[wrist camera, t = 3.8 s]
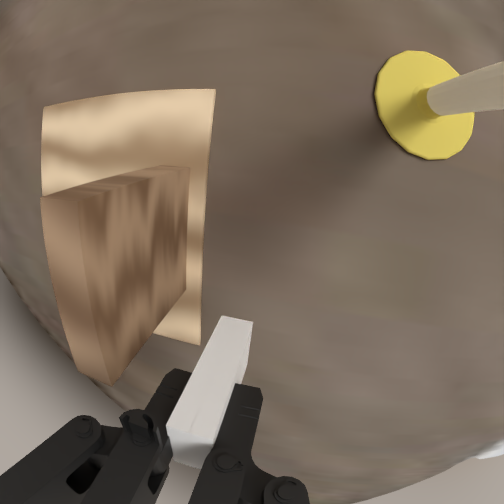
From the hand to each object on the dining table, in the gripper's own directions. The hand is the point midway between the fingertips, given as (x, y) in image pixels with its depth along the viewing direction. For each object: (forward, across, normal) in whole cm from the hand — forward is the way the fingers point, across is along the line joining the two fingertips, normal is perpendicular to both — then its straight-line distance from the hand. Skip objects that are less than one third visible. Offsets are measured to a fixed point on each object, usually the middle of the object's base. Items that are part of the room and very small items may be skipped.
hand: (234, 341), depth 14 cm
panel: (+13, -9, 0) cm, 16 cm away
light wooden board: (+13, -17, 0) cm, 22 cm away
